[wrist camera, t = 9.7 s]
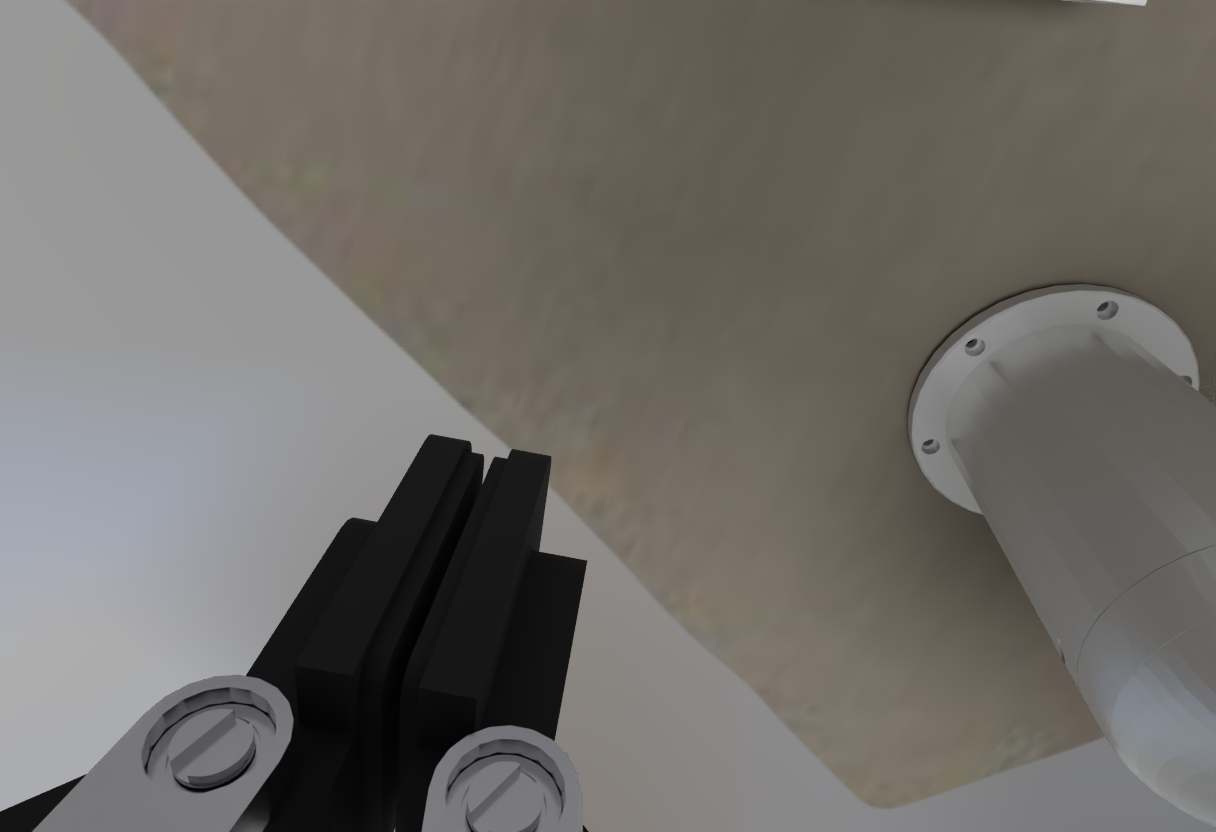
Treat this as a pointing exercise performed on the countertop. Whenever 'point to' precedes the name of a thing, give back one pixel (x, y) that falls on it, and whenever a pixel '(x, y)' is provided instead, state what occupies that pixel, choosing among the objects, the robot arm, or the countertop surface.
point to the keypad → (1113, 2)
